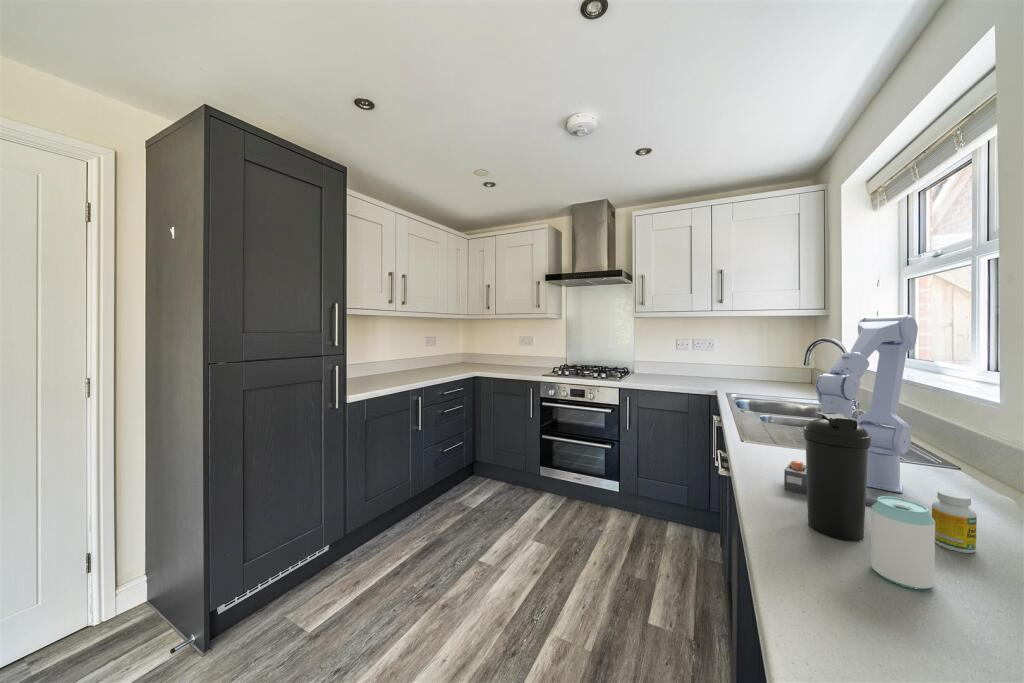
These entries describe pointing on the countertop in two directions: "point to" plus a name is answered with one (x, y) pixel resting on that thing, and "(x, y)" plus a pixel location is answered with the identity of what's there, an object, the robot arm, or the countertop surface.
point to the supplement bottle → (954, 522)
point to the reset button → (797, 465)
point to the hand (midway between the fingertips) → (835, 479)
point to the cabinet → (795, 480)
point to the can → (903, 542)
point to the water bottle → (836, 476)
